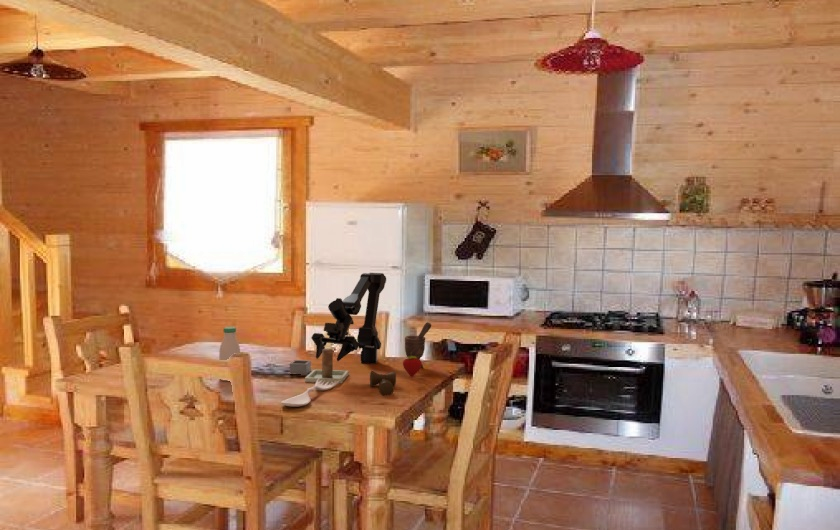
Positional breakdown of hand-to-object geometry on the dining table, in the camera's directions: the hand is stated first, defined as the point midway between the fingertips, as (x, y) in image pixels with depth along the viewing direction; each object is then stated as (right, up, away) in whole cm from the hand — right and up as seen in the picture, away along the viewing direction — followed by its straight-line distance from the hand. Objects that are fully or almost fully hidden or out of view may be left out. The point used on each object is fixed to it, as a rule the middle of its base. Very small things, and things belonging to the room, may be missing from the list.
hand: (327, 359), depth 251 cm
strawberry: (+33, -8, +8) cm, 35 cm away
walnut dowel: (0, -7, +1) cm, 7 cm away
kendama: (+22, -10, -11) cm, 27 cm away
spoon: (-2, -10, -25) cm, 27 cm away
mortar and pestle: (+35, -7, +23) cm, 43 cm away
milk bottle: (-37, -8, -1) cm, 38 cm away
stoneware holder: (-12, -7, +9) cm, 17 cm away
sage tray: (0, -8, +1) cm, 8 cm away
